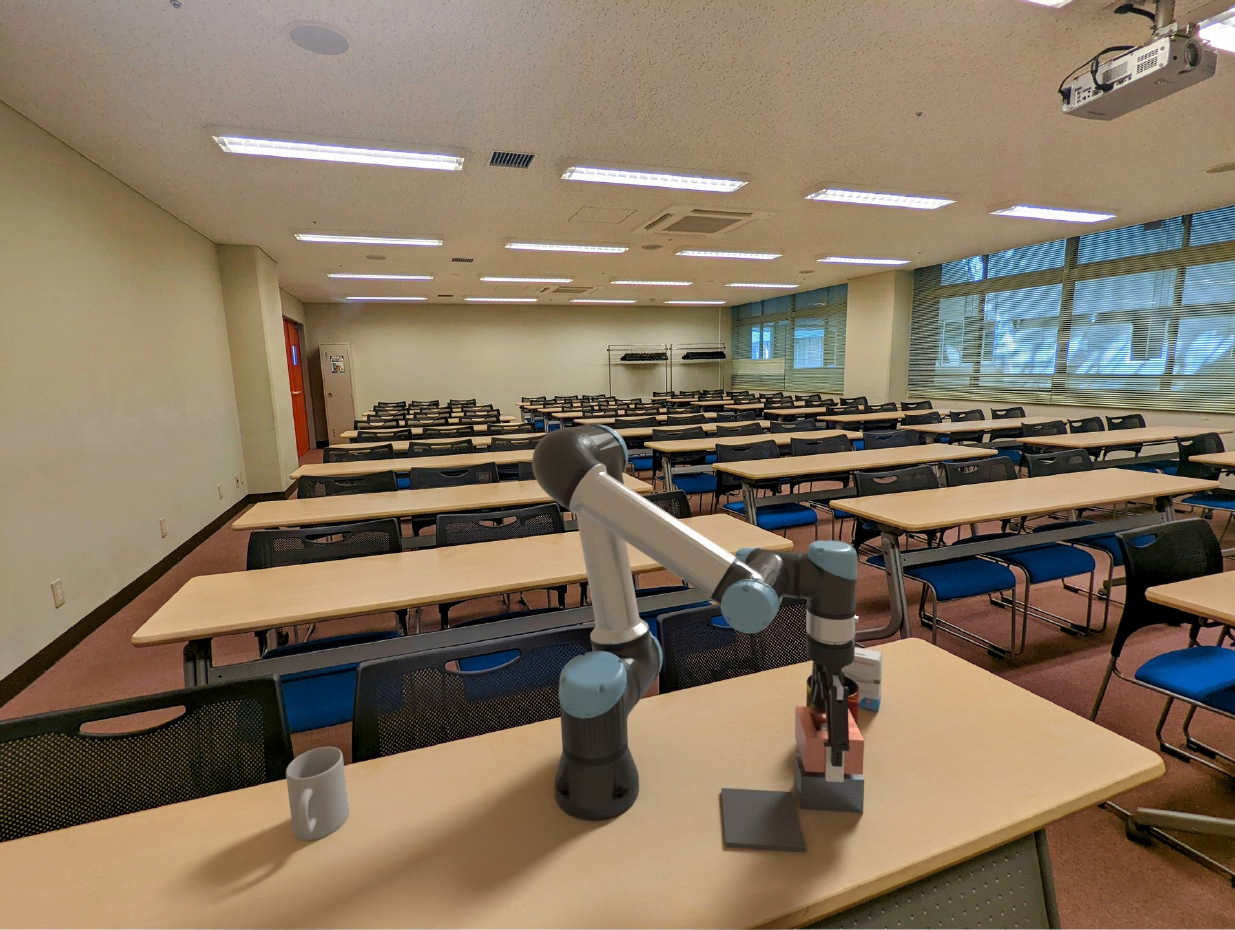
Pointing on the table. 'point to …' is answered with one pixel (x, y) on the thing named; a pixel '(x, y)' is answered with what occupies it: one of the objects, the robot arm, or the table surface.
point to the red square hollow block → (813, 739)
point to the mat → (761, 820)
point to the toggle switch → (827, 789)
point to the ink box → (866, 677)
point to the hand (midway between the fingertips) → (827, 760)
